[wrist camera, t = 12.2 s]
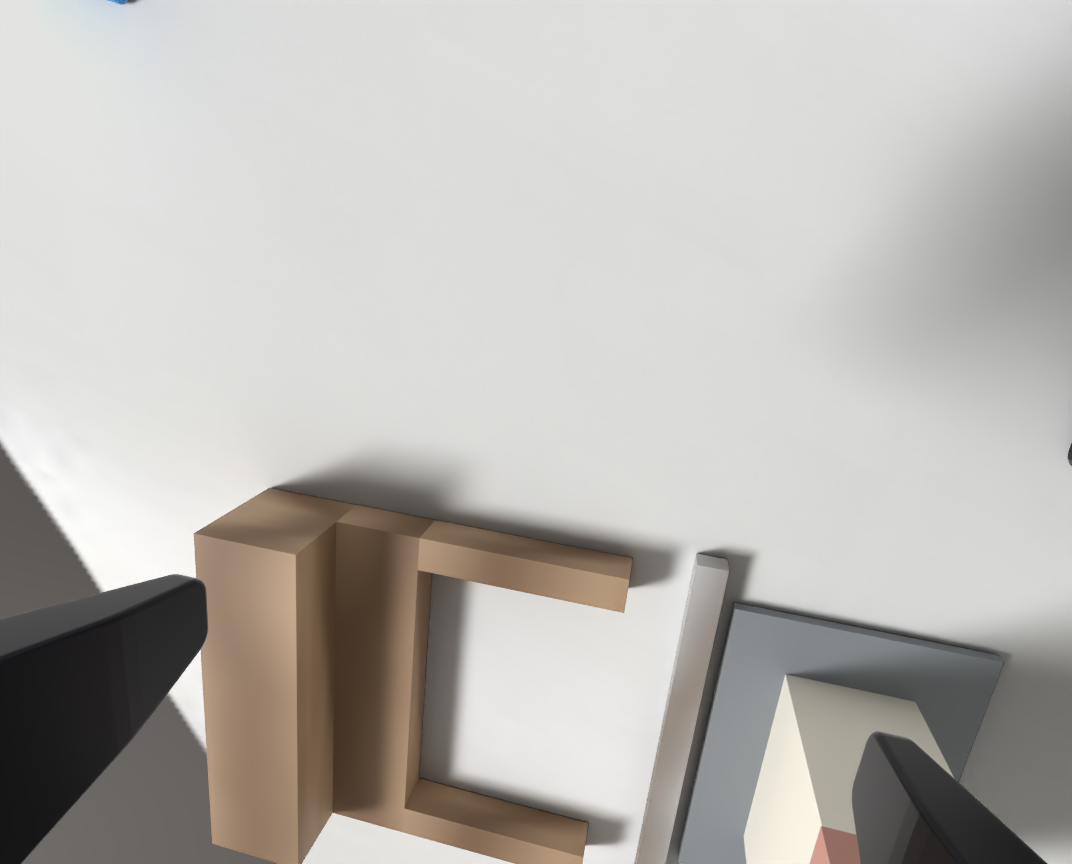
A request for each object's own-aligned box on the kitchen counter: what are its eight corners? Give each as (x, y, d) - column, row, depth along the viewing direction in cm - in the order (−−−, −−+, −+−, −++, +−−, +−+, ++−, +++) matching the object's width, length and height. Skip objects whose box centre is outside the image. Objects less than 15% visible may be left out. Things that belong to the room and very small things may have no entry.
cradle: (727, 559, 21) (737, 627, 18) (658, 878, 25) (654, 989, 22) (268, 472, 24) (192, 516, 20) (275, 773, 28) (213, 855, 24)
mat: (998, 654, 20) (1003, 662, 20) (901, 912, 24) (905, 923, 23) (734, 602, 22) (735, 608, 21) (677, 852, 25) (677, 862, 25)
